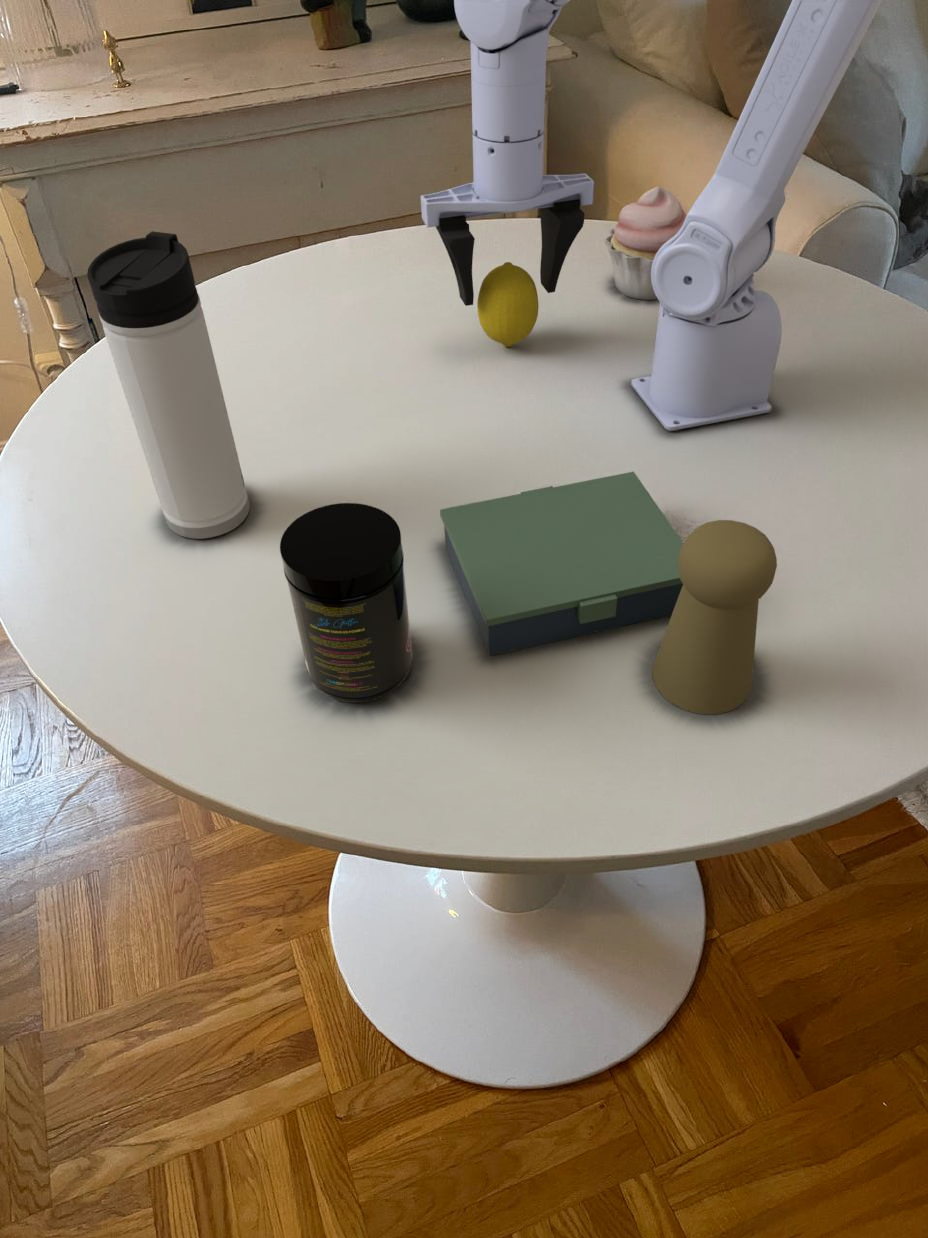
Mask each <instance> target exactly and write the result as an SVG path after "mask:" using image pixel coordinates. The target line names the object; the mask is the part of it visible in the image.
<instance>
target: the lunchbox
mask: <svg viewBox="0 0 928 1238" xmlns="http://www.w3.org/2000/svg"><path fill="white" fill-rule="evenodd" d="M439 517H440V519H441V521H442V524H443V529H444V545H445V547H444V548H445V551H446V554H447V556H448V559H449V561H450V563H451V565H452V569H453V570H454V574H455V576H456V578H457V581H458V583H459V586H460V588H461V590H462V592H463V595H464V597H465V598H464V599H465V600H466V603H467V605H468V607H469V610H470V612H471V615H472V617H473V620H474V622H475V624H476V627H477V629H478V632H479V635H480V636H481V639H482V641H483V644H484V646H485V647H484V648H485V649H486V651H487V654H488V656H495V655H499V654H504V653H508V652H513V651H517V650H521V649H526V648H529V647H535V646H540V645H544V644H548V643H553V642H557V641H561V640H566V639H570V638H575V637H580V636H585V635H588V634H592V633H597V632H602V631H606V630H610V629H611V630H612V629H614V628H615V629H616V628H620V627H623V626H627V625H632V624H637V623H641V622H646V621H650V620H654V619H659V618H663V617H668V616H672V613H673V610H674V608H675V605H676V602H677V600H678V597H679V594H680V591H681V589H682V586H683V583H682V582H681V580H680V575H679V568H678V556H679V552H680V549H681V547H682V544H683V542H684V541H683V540H682V539H681V537H680V536H679V534H678V533H677V532H676V530H675V529H674V527H673V526H672V524H671V523H670V522H669V520H668V519H667V517H666V516H665V514H664V513H663V511H662V510H661V508H660V507H659V506H658V504H657V503H656V501H655V500H654V498H652V496H651V495H650V493H649V491H648V490H647V489H646V487H645V486H644V485H643V483H642V481H641V480H640V479H639V477H638V476H637V474H636V473H635V472H634V471H629V472H625V473H619V474H614V475H608V476H604V477H598V478H593V479H588V480H583V481H578V482H573V483H569V484H563V485H558V486H553V485H551V486H546V487H540V488H536V489H530V490H526V491H521V492H520V493H517V494H512V495H511V494H510V495H507V496H501V497H497V498H492V499H487V500H481V501H477V502H472V503H465V504H461V505H456V506H451V507H446V508H441V509H439Z"/></svg>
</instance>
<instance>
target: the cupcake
mask: <svg viewBox="0 0 928 1238" xmlns="http://www.w3.org/2000/svg"><path fill="white" fill-rule="evenodd" d="M686 216H687V213H686V211H685V210H684V209H683V206H682V204H681V202H680V201H679V199H678V197H676V196H675V194H673V193H672V191H671V190H668V189H667V188H664V187H661V186H656V187H653V188H651V189H649V190H647V191H645V193H643V194H642V195H641V196H640V197H639V198H638V200H637V201H636V202H631V203H629V204H627V205H625V206H624V207H623V208H621V210H620V212H619V216H618V222H617V224H616V225H615V227H614V228H611V229H609V235H607V236H606V237H604V239H603V241H604V244H605V246H606V249H607V251H608V254H609V256H610V261H611V266H612V272H613V279H614V285H615V287H616V290H618V291H619V293H621V294H623V295H624V296H627V297H630V298H633V299H638V300H647V301H649V300H658V298H657V296H656V295H655V292H654V290H653V286H652V282H651V267H652V263H653V260H654V258H655V255H656V253H657V252H658V250H659V249H660V248H661V247H662V246H663V244H665V243H666V242H667V241H668V240H670V239H671V238H672V237H674V236H675V235H676V234H677V233H678V231H679V230H680V229H681V227H682V225H683V223H684V221H685V218H686Z"/></svg>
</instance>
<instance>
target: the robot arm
mask: <svg viewBox="0 0 928 1238" xmlns="http://www.w3.org/2000/svg"><path fill="white" fill-rule="evenodd" d="M570 1H571V0H453V5H454V6H453V7H454V12H455V17H456V20H457V23H458V25H459V27H460V29H461V31H462V33H463V34H464V35H465V37H466V38H467V39H468V40H469V41H470V79H471V81H470V84H471V86H470V87H471V130H472V175H473V177H472V178H473V180H472V182H469V183H465V184H462V185H459V186H454V187H452V188H448V189H445V190H441V191H438V192H433V193H429V194H421V195H420V209H421V220H422V221H423V223H424V224H425V227H426V228H435V229H436V231H437V232H438V234H439V237H440V238H441V241H442V243H443V245H444V248H445V249H446V253H447V254H448V257H449V260H450V262H451V266H452V268H453V271H454V275H455V278H456V283H457V287H458V293H459V298H460V299H461V301H462V302H463V305H464V306H466V307H467V306H468V307H469V306H473V305H474V299H475V297H474V281H473V259H474V248H475V240H476V239H475V236H474V235H473V234H472V232H471V231H470V224H469V223H468V222H467V220H468V219H476V218H482V217H488V216H489V217H490V216H498V215H503V214H509V213H510V214H511V213H518V212H524V211H532V210H533V211H534V210H539V219H540V231H541V233H540V234H541V235H540V236H541V251H540V266H539V273H540V284H541V286H542V288H544V290H545V291H546V293H547V294H552V293H555V292H556V289H557V284H558V281H559V277H560V274H561V271H562V269H563V265H564V263H565V259H566V258H567V255H568V253H569V251H570V249H571V247H572V245H573V243H574V242H575V240H576V238H577V237H578V234H579V233H580V232H581V230H582V229H583V228H584V224H585V215H586V214H585V212H584V211H583V210H582V209H581V206H591V205H593V203H594V189H595V181H594V180H593V179H592V178H591V177H590V176H589V175H588V174H587V173H577V174H576V173H575V174H544V152H545V151H544V149H545V148H544V147H545V113H546V111H545V109H546V82H547V81H546V80H547V51H549V36H550V31H551V28H552V27H553V25H554V24H555V22H556V21H557V19H558V17H559V16H560V14H561V11H562V8H563V7H564V6H565V5H567V4H568V3H569V2H570ZM882 2H883V0H791V2H790V4H789V7H788V9H787V11H786V14H785V15H784V18H783V20H782V22H781V25H780V27H779V29H778V32H777V33H776V36H775V38H774V41H773V42H772V44H771V47H770V49H769V51H768V54H767V56H766V58H765V60H764V62H763V64H762V67H761V69H760V71H759V74H758V76H757V78H756V80H755V83H754V84H753V87H752V89H751V91H750V94H749V96H748V98H747V100H746V102H745V105H744V107H743V109H742V110H741V111H742V112H741V114H740V115H739V118H738V120H737V122H736V125H735V127H734V129H733V131H732V134H731V136H730V138H729V140H728V142H727V145H726V147H725V149H724V151H723V153H722V156H721V158H720V160H719V162H718V164H717V167H716V169H715V171H714V174H713V175H712V177H711V178H710V180H709V182H708V183H707V184H706V186H705V187H704V189H703V190H702V191H701V193H700V194H699V196H698V197H697V198H696V200H695V202H694V203H693V205H692V206H691V207H690V209H689V210H688V212H687V213H686V215H687V216H686V218H685V221H684V223H683V225H682V227H681V229H680V230H679V231H678V233H677V234H676V235H675V236H674V237H672V238H671V239H670V240H668V241H667V242H666V243H665V244H663V246H662V247H661V248H660V249H659V250H658V252H657V253H656V255H655V258H654V260H653V263H652V267H651V282H652V286H653V290H654V292H655V295H656V296H657V298H658V299H657V300H658V301H659V310H658V318H657V326H656V327H657V328H656V333H655V334H656V335H655V342H654V350H653V356H652V357H653V359H652V366H651V374H650V375H649V376H648V375H647V376H643V377H635V378H633V379H631V382H630V385H631V387H632V388H633V390H634V391H635V392H636V393H637V394H638V396H639V398H641V400H642V401H643V402H644V404H645V405H646V406H647V408H649V410H650V411H651V412H652V414H653V415H654V416H655V418H656V419H657V420H658V421H659V423H660V424H661V425H662V427H663V428H664V429H665V430H666V431H670V432H672V431H673V432H674V431H678V430H683V429H684V430H685V429H690V428H695V427H699V426H704V425H710V424H715V423H716V424H717V423H720V422H721V423H722V422H727V421H731V420H736V419H742V418H747V417H753V416H757V415H764V414H767V413H770V412H771V411H772V404H770V403H769V401H768V400H769V395H770V392H771V387H772V382H773V378H774V374H775V369H776V365H777V362H778V361H777V360H778V356H779V351H780V347H781V342H782V335H783V329H782V327H783V326H782V325H783V324H782V317H781V312H780V308H779V305H778V304H777V302H776V300H775V299H774V297H773V296H772V295H771V294H770V293H769V292H767V291H765V290H761V289H755V282H754V278H755V273H756V272H757V273H758V271H760V269H761V268H763V267H764V266H765V264H767V262H768V261H769V259H770V257H771V256H772V254H773V251H774V248H775V242H776V225H777V220H778V217H779V215H780V214H781V213H780V212H781V210H782V209H783V207H784V205H785V203H786V192H785V189H786V187H787V185H788V183H789V181H790V180H791V177H792V175H794V174H793V173H794V172H795V169H796V168H797V166H798V164H799V162H800V160H801V158H802V156H803V154H804V153H805V151H806V149H807V147H808V145H809V143H810V140H811V139H812V137H813V135H814V133H815V131H816V130H817V127H818V125H819V123H820V122H821V120H822V118H823V116H824V114H825V112H826V110H827V108H828V106H829V105H830V102H831V100H832V99H833V97H834V95H835V93H836V91H837V89H838V87H839V85H840V83H841V81H842V79H843V77H844V76H845V74H846V72H847V70H848V68H849V66H850V64H851V62H852V60H853V58H854V57H855V54H856V53H857V50H858V49H859V46H860V45H861V44H862V42H863V39H864V38H865V35H866V33H867V31H868V30H869V28H870V26H871V24H872V21H873V20H874V17H876V14H877V12H878V10H879V8H880V6H881V5H882Z"/></svg>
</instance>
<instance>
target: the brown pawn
mask: <svg viewBox="0 0 928 1238" xmlns="http://www.w3.org/2000/svg"><path fill="white" fill-rule="evenodd" d="M682 542H683V544H682V547H681V549H680V552H679V556H678V568H679V575H680V580H681V582H682V583H683V586H682V589H681V591H680V594H679V597H678V600H677V602H676V605H675V608H674V610H673V613H672V615H670V618H669V620H668V623H667V627H666V629H665V632H664V634H663V637H662V640H661V643H660V645H659V648H658V651H657V654H656V656H655V660H654V663H653V665H652V668H651V673H652V676H651V677H652V682H653V684H654V686H655V687H656V690H657V692H658V693H659V694H661V696H662V697H664V699H665V700H667V702H669V704H672V705H674V706H676V707H678V708H680V709H681V710H684V711H687V712H691V713H695V714H698V715H719V714H724V713H727V712H732V711H733V710H734V709H736V708H738V707H740V706H741V705H743V703H745V701H746V700H747V698H748V697H749V696H750V693H751V690H752V685H753V676H754V665H755V664H754V662H755V650H756V640H757V639H756V638H757V627H758V626H757V625H758V615H759V613H758V612H759V601H760V599H761V598H763V596H764V595H765V594H766V593H767V592H768V591H769V589H770V588H771V586H772V585H773V582H774V579H775V575H776V572H777V568H778V562H777V561H778V560H777V556H776V555H777V554H776V550H775V548H774V546H773V543H772V542H771V540H770V539H769V538H768V537H767V535H766V534H765V533H764V532H762V531H761V530H760V529H758V528H757V527H755V526H753V525H750V524H748V523H746V522H741V521H738V520H737V521H736V520H731V519H718V520H712V521H707V522H705V523H703V524H701V525H699V526H697V527H696V528H694V530H692V531H691V532H690V533H689V534H688V535H687V536H686V537H685V539H684V540H683V541H682Z"/></svg>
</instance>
